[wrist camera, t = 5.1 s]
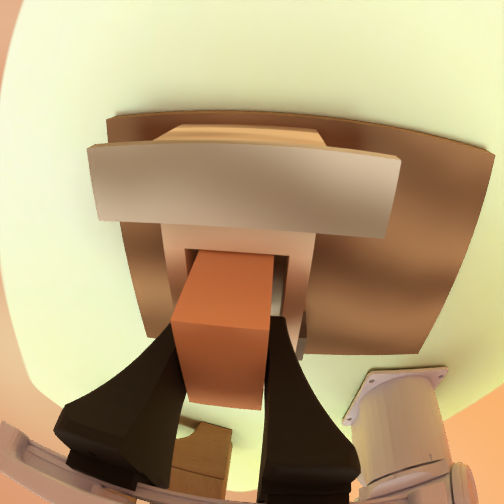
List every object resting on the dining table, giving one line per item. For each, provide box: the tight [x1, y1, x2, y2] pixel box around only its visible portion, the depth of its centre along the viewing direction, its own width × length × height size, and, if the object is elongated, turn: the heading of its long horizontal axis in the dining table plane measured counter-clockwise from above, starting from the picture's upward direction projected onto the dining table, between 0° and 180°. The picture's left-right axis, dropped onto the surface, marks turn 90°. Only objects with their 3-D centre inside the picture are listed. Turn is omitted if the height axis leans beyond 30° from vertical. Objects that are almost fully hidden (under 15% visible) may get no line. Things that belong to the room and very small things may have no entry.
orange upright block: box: [170, 249, 274, 410], centre depth 13 cm, size 5×3×6 cm, turn 178°
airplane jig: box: [87, 111, 495, 390], centre depth 15 cm, size 15×20×5 cm
